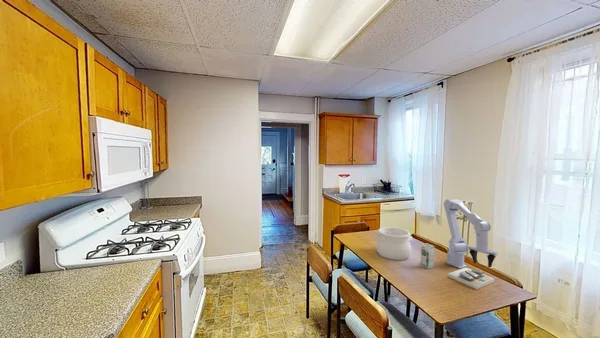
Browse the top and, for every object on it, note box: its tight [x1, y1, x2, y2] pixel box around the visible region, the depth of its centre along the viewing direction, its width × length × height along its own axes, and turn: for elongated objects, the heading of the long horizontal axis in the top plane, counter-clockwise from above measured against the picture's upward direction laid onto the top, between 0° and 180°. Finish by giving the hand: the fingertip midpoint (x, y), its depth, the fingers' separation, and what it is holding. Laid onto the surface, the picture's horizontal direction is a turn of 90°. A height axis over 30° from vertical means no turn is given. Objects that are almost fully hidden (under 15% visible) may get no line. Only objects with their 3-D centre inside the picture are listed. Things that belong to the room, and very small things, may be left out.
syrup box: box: [420, 243, 435, 269], centre depth 166 cm, size 6×6×14 cm
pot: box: [375, 226, 413, 261], centre depth 185 cm, size 26×24×18 cm
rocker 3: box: [471, 269, 485, 274], centre depth 151 cm, size 6×4×1 cm, turn 27°
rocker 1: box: [459, 271, 474, 280], centre depth 146 cm, size 6×4×1 cm, turn 27°
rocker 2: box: [465, 270, 479, 278], centre depth 149 cm, size 6×4×1 cm, turn 27°
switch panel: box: [447, 267, 495, 290], centre depth 149 cm, size 16×18×2 cm
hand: (482, 264), depth 149 cm, fingers open, 7 cm apart
